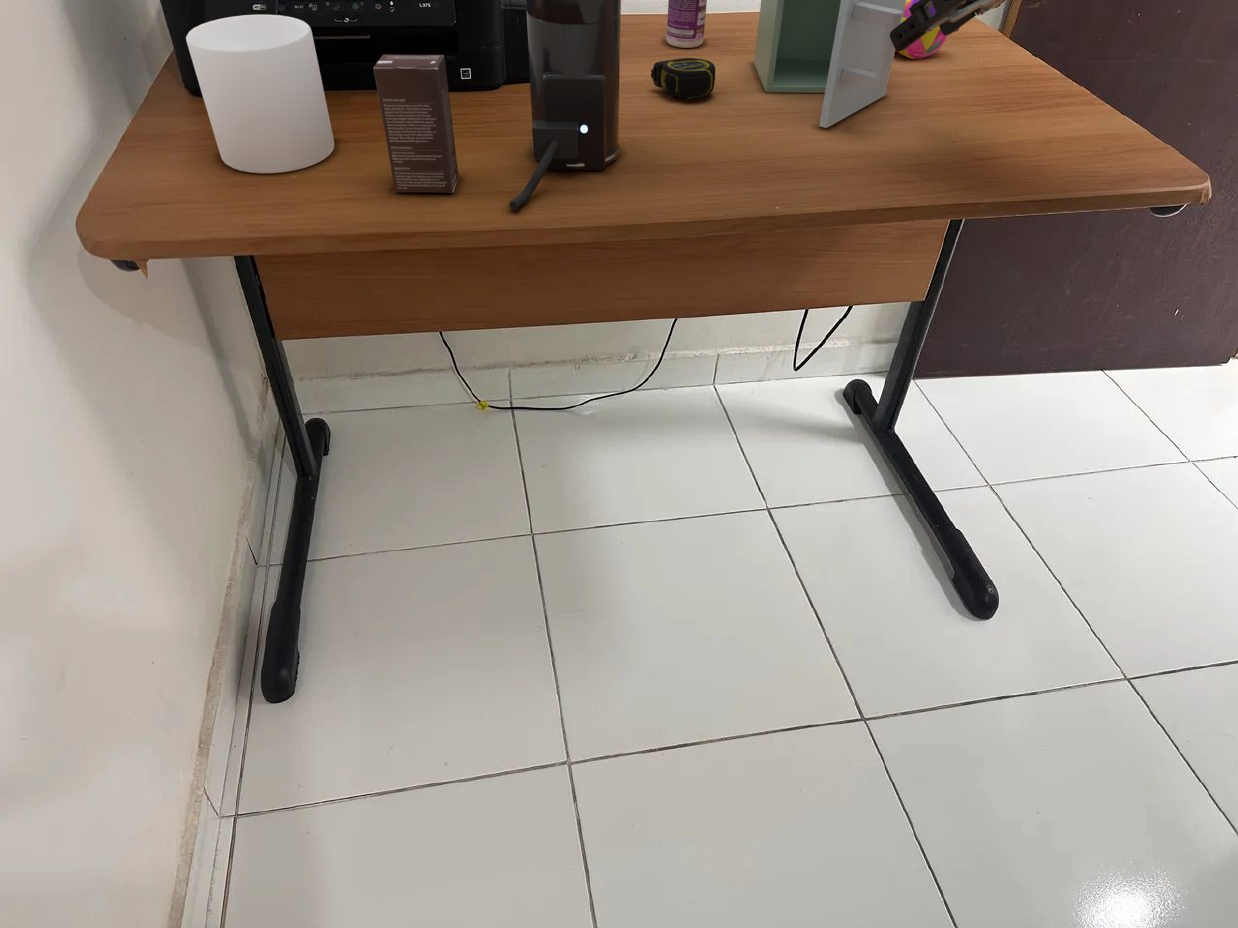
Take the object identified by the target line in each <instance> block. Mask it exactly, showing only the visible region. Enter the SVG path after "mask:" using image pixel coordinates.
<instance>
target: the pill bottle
mask: <svg viewBox="0 0 1238 928" xmlns="http://www.w3.org/2000/svg"><path fill="white" fill-rule="evenodd" d="M667 3H668V4H667V21H666V22H667V23H666V24H667V25H666V38H665V39H666V43H667V44H668V45H670V46H671V47H676V48H680V49H681V48H682V49H692V48H693V49H694V48H698V47H700V46H702V44H703V43H704V39H705V27H706V16H707V3H708V0H668V2H667Z"/></svg>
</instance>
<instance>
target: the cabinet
mask: <svg viewBox="0 0 1238 928" xmlns="http://www.w3.org/2000/svg"><path fill="white" fill-rule="evenodd" d="M840 4H841V0H760V6H759V7H760V9H759V17H758V25H757V33H756V42H755V50H754V60H753V65H754V67H755V69H756V72H757V74H758V77H759V79H760V82H761V84H762V86H763V89H764V92H765V93H785V94H787V93H788V94H789V93H790V94H791V93H793V94H794V93H796V94H799V93H800V94H825V90H826V84H827V79H828V73H829V67H830V61H831V56H832V50H833V44H834V39H835V33H836V27H837V21H838V16H839V10H840Z"/></svg>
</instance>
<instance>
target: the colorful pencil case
mask: <svg viewBox="0 0 1238 928" xmlns="http://www.w3.org/2000/svg"><path fill="white" fill-rule="evenodd" d="M918 1H919V0H906V3H905V8H904V12H903V17H902V21H901V23H902V22H903V21H905V20H906V19H907V18H909V17H910V16H911V15H912V14H911V12H910V10H909V8H910V7H912V5H913V4H914V3H916V2H918ZM929 9H930V11H931V13H932V16H933V15H935V13H936V10H935V8H934V6H931V7H930V8H929ZM959 31H960V28H958V29H957V30H956V31H954V32H953V33H956V32H959ZM948 36H949V35H943V34H942V31H941V29H940V27H939V26H937V27H936V28H934V30H932V31H931V32H927V33H926V34H925V35H923V36H922V37H921V38H919V39H918V40H917V41H915V42H914V43H913V44H911V45H910V46H909V47H907V48H906V49H905V50H902V51H896V49H895V53H898V54H899V55H901V56H904V57H905V58H907V59H912V60H918V59H925V58H927V57H930V56H932V55H934V54H935V53H937V52H938V50H940V49H941V47H942V46H943V44H944V43H945V41H946V40H947V38H948Z"/></svg>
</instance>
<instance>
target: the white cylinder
mask: <svg viewBox="0 0 1238 928" xmlns="http://www.w3.org/2000/svg"><path fill="white" fill-rule="evenodd" d="M185 40H186V45H187V48H188V51H189V54H190V58H191V61H192V65H193V68H194V72H195V75H196V77H197V81H198V85H199V88H200V92H201V96H202V98H203V103H204V105H205V108H206V111H207V116H208V119H209V122H210V125H211V128H212V132H213V136H214V139H215V142H216V145H217V149H218V152H219V155H220V158H221V161H223V163H224V164H225V165H227V166H228V167H230V168H231V169H234V170H237V171H240V172H245V173H251V174H280V173H282V174H283V173H288V172H294V171H299V170H302V169H306V168H309V167H312V166H314V165H317V164H318V163H320V162H322V161H324V160H325V159H327V158H328V157H329V156H331V154H332V153H333V152H334V149H335V139H334V134H333V129H332V125H331V119H330V115H329V110H328V103H327V99H326V95H325V91H324V85H323V80H322V75H321V71H320V65H319V61H318V56H317V52H316V46H315V41H314V36H313V32H312V28H311V26H310V25H309V24H308V23H307V22H305V21H304V20H301V19H300V18H299V19H298V18H296V17H292V16H287V15H280V14H245V15H235V16H228V17H223V18H219V19H214V20H210V21H207V22H204V23H201V24H199V25H197V26H195V27H193V28H192V29H190V30H189V31H188V33H187V34H186V36H185Z"/></svg>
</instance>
